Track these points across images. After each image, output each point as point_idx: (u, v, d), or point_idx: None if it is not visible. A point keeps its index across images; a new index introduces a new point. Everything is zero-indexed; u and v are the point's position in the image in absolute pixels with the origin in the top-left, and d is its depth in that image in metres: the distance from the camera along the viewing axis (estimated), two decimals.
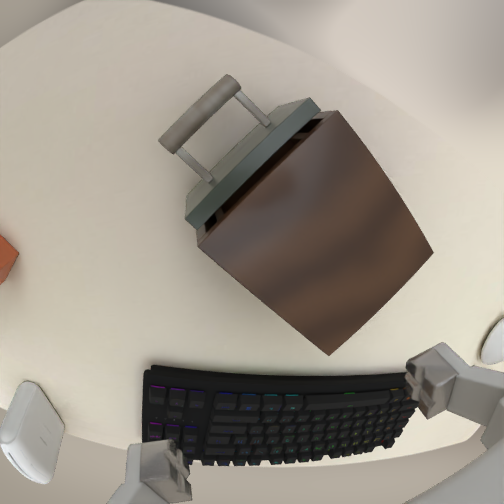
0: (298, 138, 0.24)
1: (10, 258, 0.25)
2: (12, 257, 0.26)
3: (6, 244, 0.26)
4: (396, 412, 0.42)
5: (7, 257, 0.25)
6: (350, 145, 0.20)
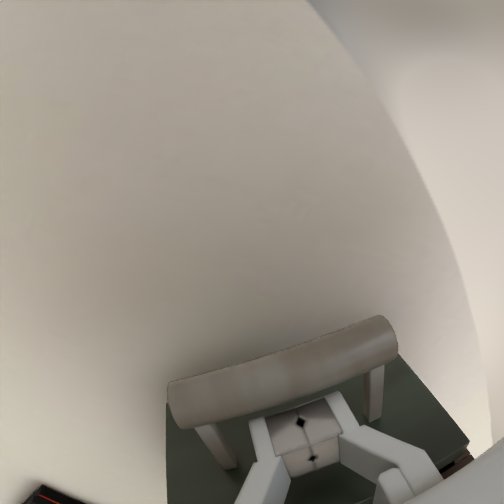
0: None
1: None
2: None
3: None
4: None
5: None
6: None
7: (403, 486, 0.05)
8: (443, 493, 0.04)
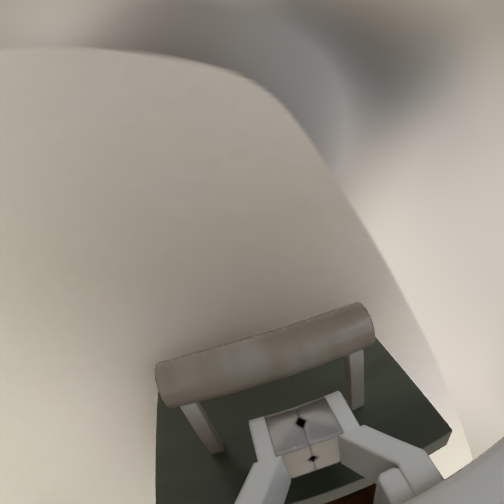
0: None
1: None
2: None
3: None
4: None
5: None
6: None
7: (403, 486, 0.05)
8: (443, 493, 0.04)
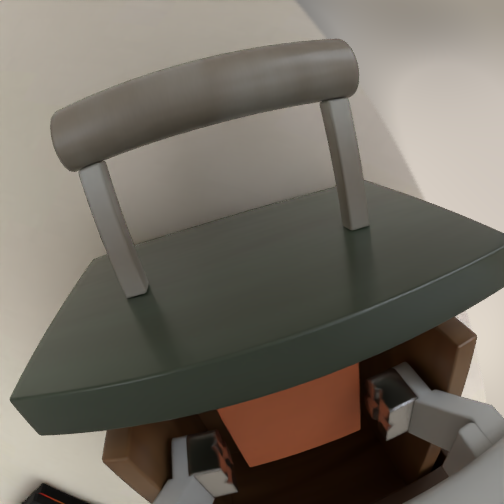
0: None
1: None
2: None
3: None
4: None
5: None
6: None
7: (481, 437, 0.05)
8: (443, 493, 0.04)
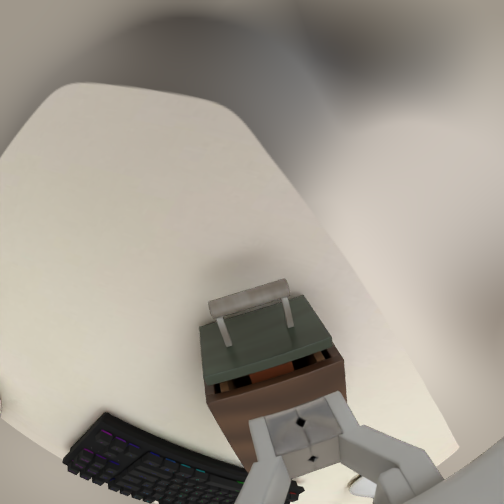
0: None
1: None
2: None
3: None
4: None
5: None
6: (336, 380, 0.28)
7: (403, 486, 0.05)
8: (443, 493, 0.04)
